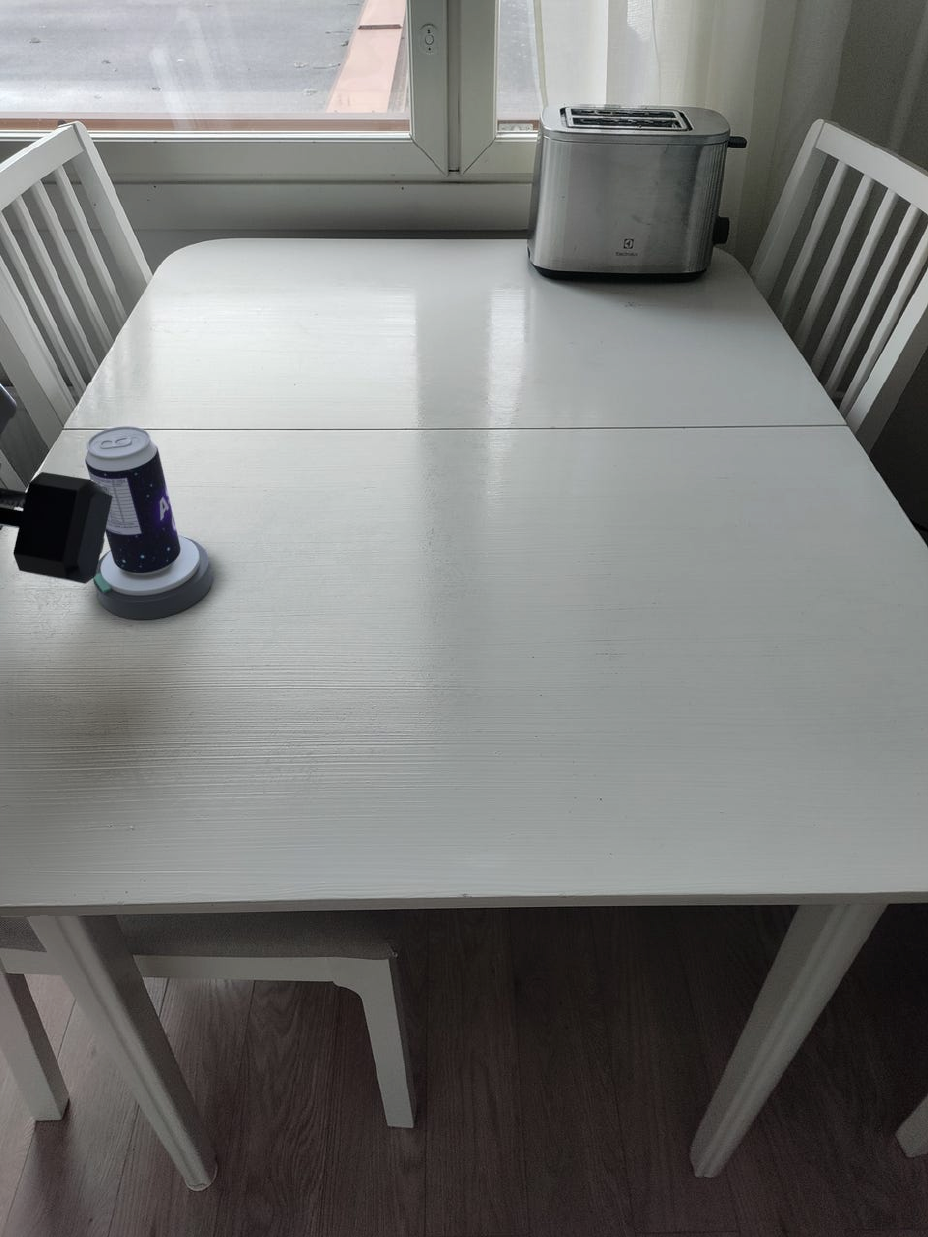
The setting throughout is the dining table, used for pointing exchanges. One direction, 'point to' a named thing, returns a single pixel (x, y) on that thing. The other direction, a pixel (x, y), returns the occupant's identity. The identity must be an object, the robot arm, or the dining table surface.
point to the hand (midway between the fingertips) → (43, 535)
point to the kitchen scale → (155, 585)
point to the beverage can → (134, 500)
